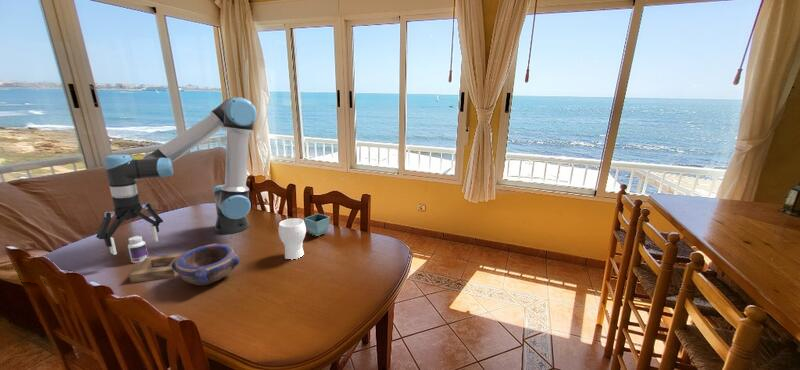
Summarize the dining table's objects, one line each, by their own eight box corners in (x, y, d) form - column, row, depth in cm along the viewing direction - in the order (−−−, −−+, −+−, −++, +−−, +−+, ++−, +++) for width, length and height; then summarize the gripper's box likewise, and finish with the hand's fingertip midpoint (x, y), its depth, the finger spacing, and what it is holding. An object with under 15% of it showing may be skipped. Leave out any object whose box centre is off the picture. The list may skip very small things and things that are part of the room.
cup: (312, 255, 126) (310, 222, 122) (288, 264, 118) (285, 229, 114) (299, 247, 133) (297, 215, 129) (276, 255, 125) (273, 222, 121)
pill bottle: (152, 258, 122) (147, 236, 119) (137, 264, 117) (131, 241, 115) (143, 255, 124) (138, 234, 121) (128, 261, 119) (122, 239, 116)
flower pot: (331, 233, 147) (330, 216, 145) (317, 240, 140) (316, 222, 138) (318, 229, 152) (317, 213, 150) (304, 235, 145) (303, 218, 143)
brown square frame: (186, 259, 121) (185, 253, 120) (174, 276, 109) (173, 269, 108) (147, 264, 117) (146, 257, 116) (130, 282, 105) (129, 275, 104)
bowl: (195, 300, 96) (190, 272, 93) (169, 283, 105) (164, 257, 103) (248, 275, 111) (244, 250, 108) (221, 261, 120) (218, 238, 117)
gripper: (157, 187, 126) (165, 233, 131) (75, 202, 104) (89, 257, 109) (167, 189, 123) (175, 237, 128) (85, 205, 101) (98, 262, 106)
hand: (135, 246), depth 119 cm, fingers open, 13 cm apart
